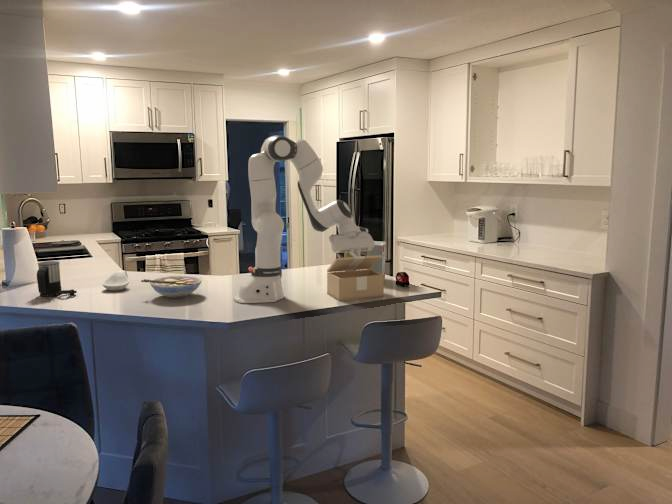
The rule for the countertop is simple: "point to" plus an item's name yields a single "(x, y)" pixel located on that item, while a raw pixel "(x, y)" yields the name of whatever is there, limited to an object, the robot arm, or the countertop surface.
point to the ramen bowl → (175, 285)
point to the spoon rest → (116, 281)
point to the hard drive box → (379, 250)
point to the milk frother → (50, 279)
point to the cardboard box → (355, 284)
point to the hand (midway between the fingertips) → (357, 258)
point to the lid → (354, 263)
